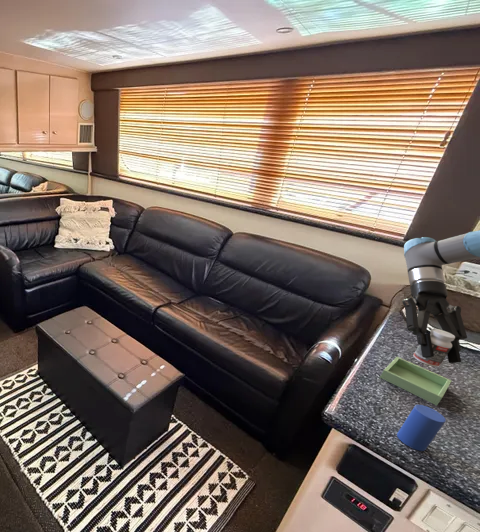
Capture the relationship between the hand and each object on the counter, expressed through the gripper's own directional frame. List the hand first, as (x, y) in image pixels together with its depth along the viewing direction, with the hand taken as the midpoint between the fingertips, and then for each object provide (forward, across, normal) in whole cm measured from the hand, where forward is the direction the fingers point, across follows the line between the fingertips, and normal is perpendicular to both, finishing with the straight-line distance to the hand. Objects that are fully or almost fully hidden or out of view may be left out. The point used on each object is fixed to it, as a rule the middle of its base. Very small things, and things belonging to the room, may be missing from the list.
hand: (441, 359), depth 89 cm
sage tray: (+6, 0, -10) cm, 12 cm away
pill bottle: (0, 0, -5) cm, 5 cm away
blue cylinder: (+25, +17, +9) cm, 32 cm away
